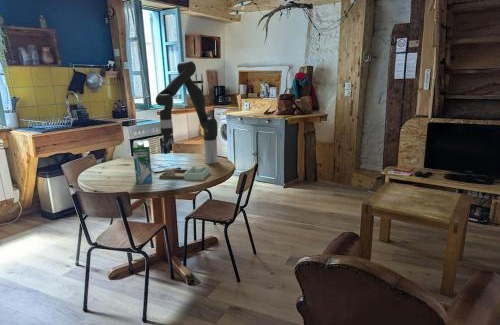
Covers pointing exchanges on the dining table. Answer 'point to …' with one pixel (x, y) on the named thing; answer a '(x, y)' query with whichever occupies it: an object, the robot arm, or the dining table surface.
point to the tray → (178, 175)
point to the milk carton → (142, 162)
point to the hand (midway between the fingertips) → (168, 152)
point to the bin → (196, 174)
